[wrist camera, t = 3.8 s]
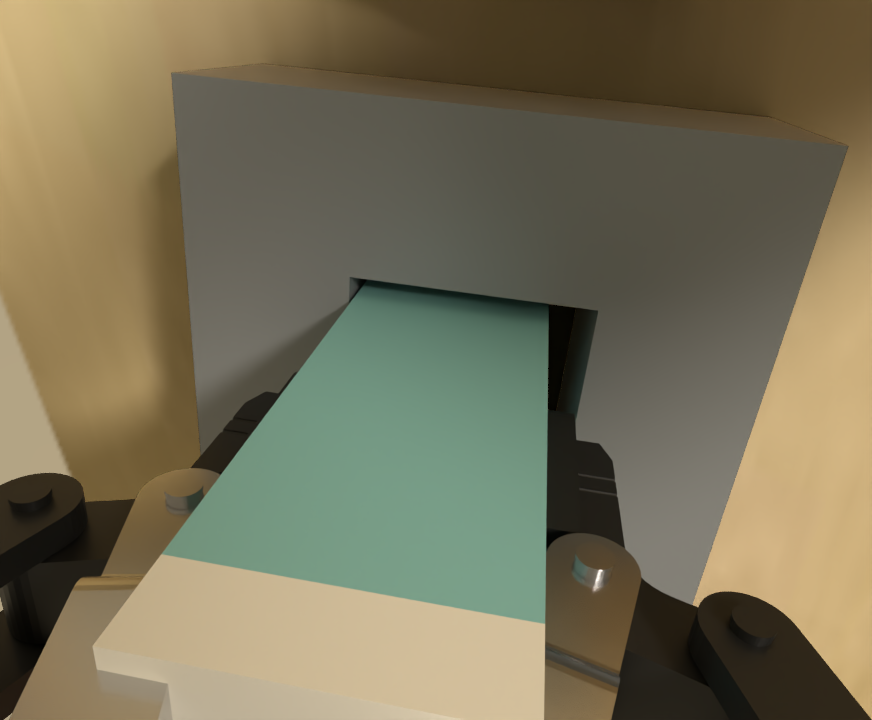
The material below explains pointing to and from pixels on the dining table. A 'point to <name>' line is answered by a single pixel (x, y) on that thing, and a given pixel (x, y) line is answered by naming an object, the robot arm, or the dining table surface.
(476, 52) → the dining table surface
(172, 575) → the plug
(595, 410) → the grey square socket block
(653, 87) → the dining table surface
